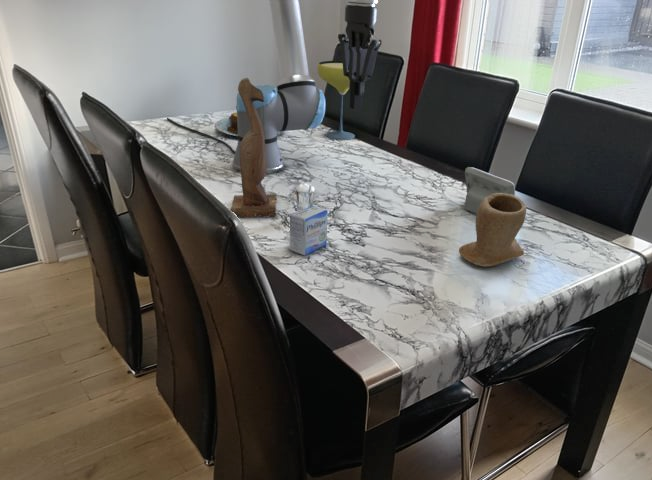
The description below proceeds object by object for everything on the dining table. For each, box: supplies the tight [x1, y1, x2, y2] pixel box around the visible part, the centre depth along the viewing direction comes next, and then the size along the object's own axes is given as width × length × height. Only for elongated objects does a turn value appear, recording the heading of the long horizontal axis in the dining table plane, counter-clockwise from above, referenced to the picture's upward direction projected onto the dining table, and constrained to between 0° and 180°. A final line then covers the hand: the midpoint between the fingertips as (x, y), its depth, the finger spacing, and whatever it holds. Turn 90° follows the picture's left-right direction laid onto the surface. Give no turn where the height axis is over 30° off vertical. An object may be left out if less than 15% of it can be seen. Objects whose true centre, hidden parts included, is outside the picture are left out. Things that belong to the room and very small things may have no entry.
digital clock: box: [464, 166, 516, 215], centre depth 152 cm, size 16×9×11 cm, turn 26°
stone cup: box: [458, 193, 527, 267], centre depth 125 cm, size 15×12×15 cm
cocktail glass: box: [317, 60, 356, 141], centre depth 208 cm, size 18×18×25 cm
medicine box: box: [289, 205, 329, 256], centre depth 127 cm, size 8×4×9 cm, turn 144°
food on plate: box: [214, 112, 282, 137], centre depth 211 cm, size 25×25×7 cm
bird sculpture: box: [230, 77, 278, 219], centre depth 139 cm, size 11×12×32 cm
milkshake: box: [295, 183, 316, 212], centre depth 140 cm, size 4×5×10 cm
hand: (355, 107), depth 146 cm, fingers closed
